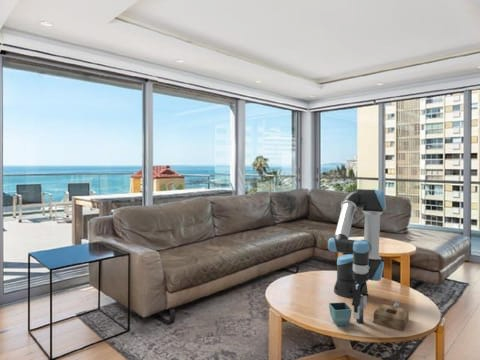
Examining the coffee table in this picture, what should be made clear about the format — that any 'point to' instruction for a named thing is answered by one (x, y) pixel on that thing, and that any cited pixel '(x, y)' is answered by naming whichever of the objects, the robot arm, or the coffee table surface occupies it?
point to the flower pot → (340, 313)
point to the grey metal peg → (361, 310)
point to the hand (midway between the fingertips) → (359, 312)
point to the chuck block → (391, 316)
